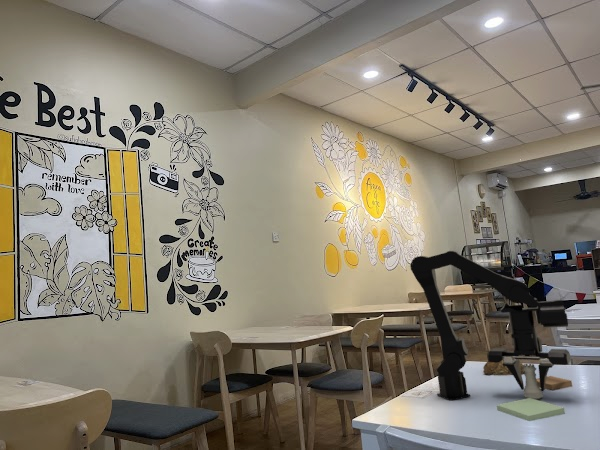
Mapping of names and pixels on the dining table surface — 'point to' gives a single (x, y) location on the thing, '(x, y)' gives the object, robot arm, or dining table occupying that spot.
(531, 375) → the rook chess piece
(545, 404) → the sage block
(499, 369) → the bread roll
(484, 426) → the dining table surface
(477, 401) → the dining table surface
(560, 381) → the walnut block
